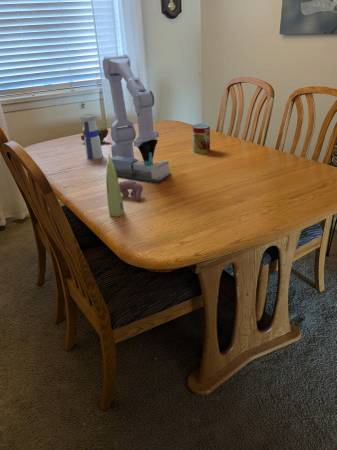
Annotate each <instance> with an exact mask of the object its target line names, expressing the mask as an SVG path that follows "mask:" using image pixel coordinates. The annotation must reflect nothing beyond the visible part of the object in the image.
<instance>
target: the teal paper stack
mask: <svg viewBox="0 0 337 450" xmlns="http://www.w3.org/2000/svg"><path fill="white" fill-rule="evenodd" d="M131 164H132V169H133V170H139V171H145V172H151V165H153V164H154V156H153V157H152V152H150V151H149V161H144V160H143V162H142V161H138V160H137V161H134V162H132V163H131Z"/></svg>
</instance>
